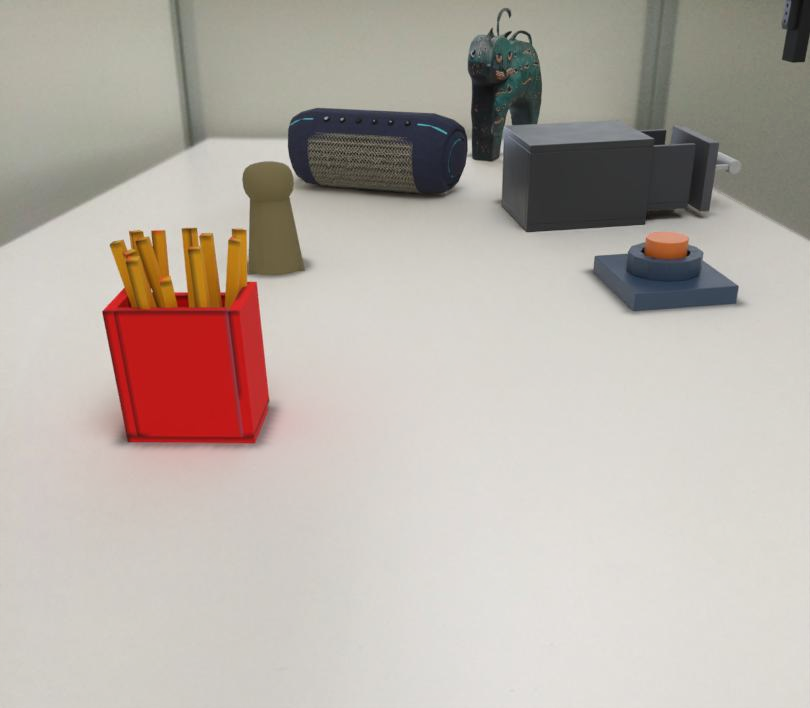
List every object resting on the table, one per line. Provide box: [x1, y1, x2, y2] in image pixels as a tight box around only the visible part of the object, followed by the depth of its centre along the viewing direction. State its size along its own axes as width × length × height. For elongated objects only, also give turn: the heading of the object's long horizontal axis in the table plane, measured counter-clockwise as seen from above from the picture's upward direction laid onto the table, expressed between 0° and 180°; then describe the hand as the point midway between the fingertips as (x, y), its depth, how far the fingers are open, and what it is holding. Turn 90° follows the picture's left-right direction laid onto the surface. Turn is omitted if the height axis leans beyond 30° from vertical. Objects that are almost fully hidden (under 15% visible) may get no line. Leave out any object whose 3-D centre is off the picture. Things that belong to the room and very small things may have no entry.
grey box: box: [501, 119, 655, 233], centre depth 117 cm, size 15×13×10 cm
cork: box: [241, 160, 306, 276], centre depth 100 cm, size 6×6×11 cm
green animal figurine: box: [467, 7, 543, 162], centre depth 148 cm, size 20×6×20 cm, turn 149°
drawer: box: [637, 124, 742, 212], centre depth 119 cm, size 18×11×8 cm, turn 99°
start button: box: [644, 231, 690, 259], centre depth 93 cm, size 4×4×2 cm
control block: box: [592, 241, 740, 312], centre depth 94 cm, size 10×12×4 cm
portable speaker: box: [287, 107, 469, 196], centre depth 130 cm, size 25×10×10 cm, turn 67°
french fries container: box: [101, 227, 270, 444], centre depth 68 cm, size 7×9×14 cm
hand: (793, 60), depth 114 cm, fingers closed
